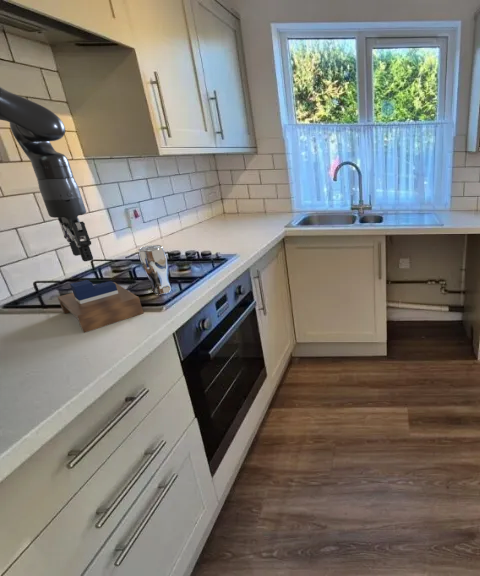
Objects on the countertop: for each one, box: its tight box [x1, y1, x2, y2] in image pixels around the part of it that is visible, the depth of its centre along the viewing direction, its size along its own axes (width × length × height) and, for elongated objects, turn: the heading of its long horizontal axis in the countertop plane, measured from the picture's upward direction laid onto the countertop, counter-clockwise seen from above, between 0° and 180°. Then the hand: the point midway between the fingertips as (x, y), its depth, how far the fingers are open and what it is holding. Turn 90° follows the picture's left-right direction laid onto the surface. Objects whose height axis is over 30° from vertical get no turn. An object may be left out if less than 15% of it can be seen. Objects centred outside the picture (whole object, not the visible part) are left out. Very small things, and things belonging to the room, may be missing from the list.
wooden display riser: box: [57, 281, 145, 334], centre depth 103 cm, size 14×20×5 cm
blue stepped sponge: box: [69, 279, 118, 304], centre depth 101 cm, size 9×4×5 cm, turn 141°
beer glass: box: [137, 244, 174, 295], centre depth 114 cm, size 7×7×15 cm
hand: (83, 257), depth 97 cm, fingers open, 8 cm apart
